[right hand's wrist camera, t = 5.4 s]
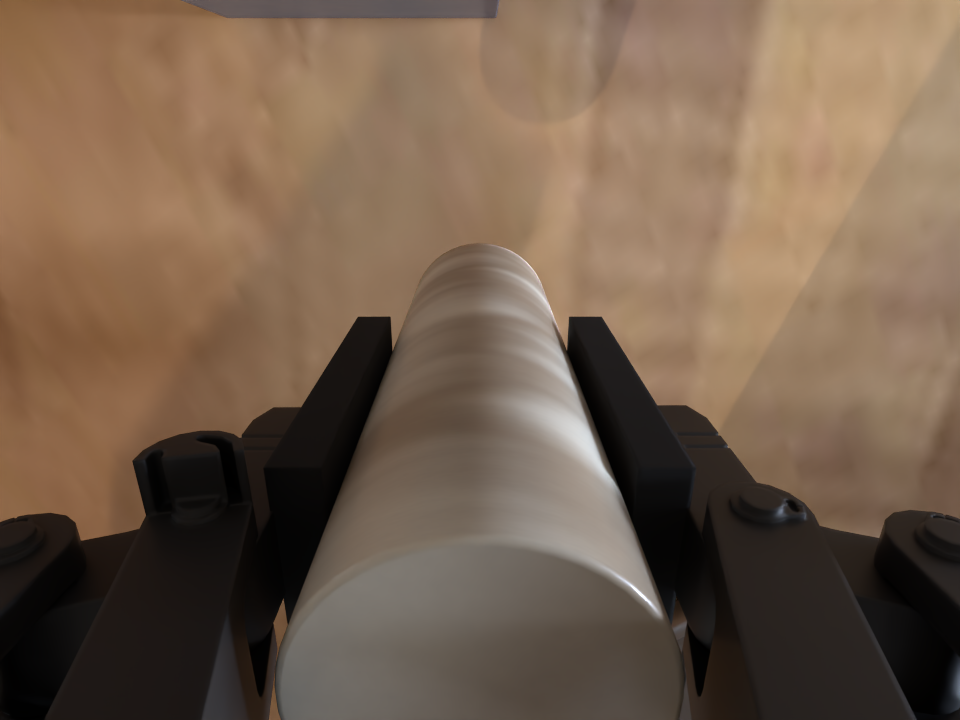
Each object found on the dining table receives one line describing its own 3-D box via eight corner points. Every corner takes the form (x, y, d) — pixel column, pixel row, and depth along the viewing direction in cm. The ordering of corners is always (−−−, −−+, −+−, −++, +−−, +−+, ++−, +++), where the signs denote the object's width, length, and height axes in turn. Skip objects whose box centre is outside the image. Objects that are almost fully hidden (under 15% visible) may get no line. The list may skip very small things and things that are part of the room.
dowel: (565, 269, 19) (766, 612, 6) (517, 384, 20) (586, 868, 7) (438, 223, 18) (331, 481, 5) (397, 345, 20) (233, 787, 6)
